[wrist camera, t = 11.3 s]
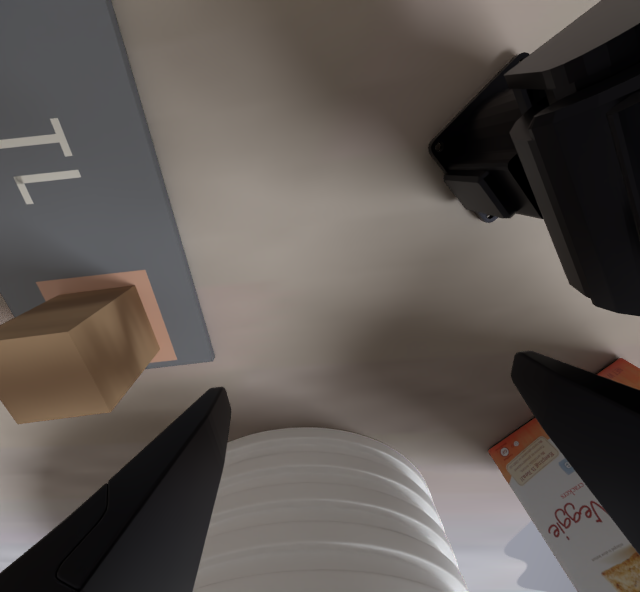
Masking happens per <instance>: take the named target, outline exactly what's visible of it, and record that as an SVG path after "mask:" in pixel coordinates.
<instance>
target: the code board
mask: <svg viewBox="0 0 640 592" xmlns="http://www.w3.org/2000/svg"><path fill="white" fill-rule="evenodd" d="M132 285H135V286H136V289H137V291H138V294H139V296H140V299H141V301H142V304H143V307H144V309H145V312H146V314H147V317H148V319H149V322H150V324H151V327H152V329H153V332H154V334H155V337H156V339H157V342H158V345H159V347H160V350H159V352H158V353H157V354H156V355H155V357H154V358H153V359H152V360H151V362H150V363H149V364H148V366H147V367H146V368H145V369H151V368H159V367H168V366H177V365H185V364H194V363H203V362H211V361H213V360H214V358H215V355H214V351H213V348H212V345H211V341H210V338H209V334H208V331H207V327H206V324H205V321H204V317H203V314H202V310H201V307H200V303H199V300H198V297H197V293H196V290H195V286H194V283H193V279H192V276H191V273H190V269H189V266H188V262H187V259H186V255H185V252H184V249H183V245H182V242H181V238H180V235H179V231H178V228H177V225H176V221H175V218H174V214H173V211H172V208H171V204H170V201H169V197H168V194H167V190H166V187H165V184H164V180H163V177H162V173H161V170H160V166H159V163H158V160H157V156H156V153H155V149H154V146H153V142H152V139H151V136H150V132H149V129H148V125H147V122H146V118H145V115H144V112H143V108H142V105H141V101H140V98H139V94H138V91H137V88H136V84H135V81H134V77H133V74H132V70H131V67H130V64H129V60H128V57H127V53H126V50H125V46H124V43H123V40H122V36H121V33H120V29H119V26H118V22H117V19H116V16H115V12H114V9H113V5H112V2H111V0H0V293H1V295H2V296H3V298H4V300H5V302H6V303H7V305H8V307H9V308H10V310H11V312H12V314H13V315H14V317H17V316H19V315H21V314H23V313H25V312H27V311H29V310H31V309H32V308H34V307H36V306H38V305H40V304H42V303H44V302H46V301H48V300H50V299H52V298H54V297H56V296H58V295H61V294H69V293H77V292H85V291H93V290H101V289H109V288H117V287H125V286H132Z"/></svg>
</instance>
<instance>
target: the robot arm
mask: <svg viewBox="0 0 640 592" xmlns="http://www.w3.org/2000/svg"><path fill="white" fill-rule="evenodd" d="M519 61H521V62H520V63H518V62H519ZM437 143H440V144H441V149H440V151H438V152H437V151H436V149H435V146H436V144H437ZM428 149H429V153H430V155H431V156H432V157H433V159H434V160H435V161H436V162H437V164H438V165H439V166H440V168H441V169H442V170H443V172H444V173H445V175H444V182H445V183H446V184H447V185H448V187H449V188H450V189H451V191H452V192H453V193H454V194H455V196H456V197H457V198H458V200H459V201H460V202H461V203H462V205H463V206H464V207H465V208H466V209H468V210H472V211H474V212H475V213H476V214H477V216H478V217H479V218H480V220H482V221H484V222H488V223H490V222H493V221H494V220H496V219H497V218H498V217H500V218H511V217H512V216H513V215H514V214H515V213H516V214H521V215H526V216H530V217H535V218H540V219H544V221H545V224H546V226H547V229H548V231H549V234H550V236H551V239H552V242H553V244H554V247H555V249H556V252H557V254H558V257H559V259H560V262H561V264H562V267H563V269H564V272H565V274H566V277H567V279H568V281H569V284H570V285H571V286H573V287H574V288H575V289H577V290H578V291H579V292H581V293H582V294H583V295H585V296H586V297H588V298H591V300H592V303H593V305H595V306H597V307H600V308H603V309H606V310H610V311H613V312H616V313H621V314H628V315H635V316H640V0H601V1H600V2H599V3H597V4H596V5H595V6H593V7H592V8H591V9H589V10H588V11H587V12H585V13H584V14H583V15H581V16H580V17H579V18H578V19H576V20H575V21H574V22H572V23H571V24H570V25H568V26H567V27H566V28H564V29H563V30H562V31H560V32H559V33H558V34H556V35H555V36H554V37H553V38H551V39H550V40H549V41H547V42H546V43H545V44H543V45H542V46H541V47H539V48H538V49H537V50H535V51H534V52H533V53H532V54H530V55H529V53H526V52H524V53H521V54H519V55H517V56H515V57H514V58H513V59H512V60H511V61H510V62H509V63H508V64H507V65H506V66H505V67H504V68H503V69H502V70H501V71H500V72H499V73H498V74H497V75H496V76H495V77H494V78H493V79H492V80H491V81H490V82H489V83H488V84H487V85H486V86H485V87H484V88H483V89H482V90H481V91H480V92H479V93H478V94H477V95H476V96H475V97H474V98H473V99H472V100H471V101H470V102H469V103H468V104H467V105H466V106H465V107H464V108H463V109H462V110H461V111H460V112H459V113H458V114H457V115H456V116H455V117H454V118H453V119H452V121H451V122H450V123H449V124H448V125H447V126H446V127H445V128H444V129H443V130H442V131H441V132H440V133H439V134H438V135H437V136H436V137H435V138H434V139H433V140H432V141H431V142H430V144H429V147H428ZM487 214H488V215H490V216H489V217H488V218H487ZM511 378H512V381H513V383H514V384H515V386H516V387H517V389H518V391H519V392H520V394H521V395H522V397H523V399H524V400H525V402H526V403H527V405H528V407H529V408H530V410H531V411H532V413H533V415H534V416H535V418H536V419H537V421H538V422H539V424H540V425H541V427H542V428H543V430H544V431H545V432H546V434H547V435H548V436H549V438H550V439H551V440H552V441H553V443H554V444H555V445H556V447H557V448H558V449H559V451H560V452H561V453H562V455H563V456H564V457H565V458H566V460H567V461H568V462H569V464H570V465H571V466H572V468H573V469H574V470H575V472H576V473H577V474H578V476H579V477H580V478H581V479H582V481H583V482H584V483H585V485H586V486H587V487H588V489H589V490H590V491H591V493H592V494H593V495H594V496H595V498H596V499H597V500H598V502H599V503H600V504H601V506H602V507H603V508H604V510H605V511H606V512H607V513H608V515H609V516H610V517H611V519H612V520H613V521H614V523H615V524H616V525H617V527H618V528H619V529H620V530H621V532H622V533H623V534H624V536H625V537H626V538H627V540H628V541H629V542H630V544H631V545H632V546H633V547H634V549H635V550H636V551H637V553H638V554H639V555H640V390H638V389H635V388H632V387H630V386H627V385H624V384H621V383H619V382H616V381H613V380H610V379H608V378H605V377H602V376H599V375H597V374H594V373H591V372H588V371H586V370H583V369H580V368H577V367H575V366H572V365H569V364H566V363H564V362H561V361H558V360H555V359H553V358H550V357H547V356H544V355H541V354H539V353H536V352H533V351H523V352H518V353H516V354H515V356H514V361H513V366H512V371H511ZM230 419H231V406H230V403H229V399H228V396H227V392H226V390H225V388H224V387H216V388H210V389H209V390H208V391H207V392H206V393H204V394H203V395H202V396H201V397H200V398H199V399H198V400H197V401H196V402H195V403H193V404H192V405H191V406H190V407H189V408H188V409H187V410H186V411H185V412H184V413H182V414H181V415H180V416H179V417H178V418H177V419H176V420H175V421H174V422H173V423H171V424H170V425H169V426H168V427H167V428H166V429H165V430H164V431H163V432H162V433H160V434H159V435H158V436H157V437H156V438H155V439H154V440H153V441H152V442H151V443H150V444H148V445H147V446H146V447H145V448H144V449H143V450H142V451H141V452H140V453H139V454H137V455H136V456H135V457H134V458H133V459H132V460H131V461H130V462H129V463H128V464H126V465H125V466H124V467H123V468H122V469H121V470H120V471H119V472H118V473H117V474H115V475H114V476H113V477H112V478H111V479H110V480H109V481H108V484H107V483H106V484H104V485H103V486H102V487H101V488H100V489H99V490H98V491H97V492H96V493H94V494H93V495H92V496H91V497H90V498H89V499H88V500H87V501H86V502H84V503H83V504H82V505H81V506H80V507H79V508H78V509H76V510H75V511H74V512H73V513H72V514H71V515H70V516H69V517H67V518H66V519H65V520H64V521H63V522H61V523H60V524H59V525H58V526H57V527H56V528H54V529H53V530H52V531H51V532H50V533H48V534H47V535H46V536H45V537H44V538H42V539H41V540H40V541H39V542H38V543H36V544H35V545H34V546H33V547H31V548H30V549H29V550H28V551H27V552H25V553H24V554H23V555H22V556H20V557H19V558H18V559H17V560H16V561H14V562H13V563H12V564H11V565H9V566H8V567H7V568H6V569H5V570H3V571H2V572H1V573H0V592H193V588H194V584H195V580H196V576H197V572H198V568H199V564H200V560H201V556H202V552H203V548H204V544H205V540H206V536H207V532H208V528H209V524H210V520H211V516H212V512H213V508H214V504H215V500H216V496H217V492H218V488H219V484H220V480H221V476H222V472H223V467H224V462H225V456H226V448H227V441H228V434H229V427H230Z"/></svg>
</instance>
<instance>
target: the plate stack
mask: <svg viewBox="0 0 640 592" xmlns="http://www.w3.org/2000/svg"><path fill="white" fill-rule="evenodd" d="M193 592H469V590H468V588H467V585H466V583H465V580H464V578H463V576H462V574H461V573H460V571H459V569H458V564H457V560H456V557H455V555H454V552H453V550H452V547H451V545H450V542H449V540H448V538H447V536H446V534H445V531H444V527H443V524H442V522H441V519H440V517H439V514H438V512H437V509H436V507H435V505H434V503H433V499H432V497H431V494H430V491H429V489H428V486H427V484H426V482H425V480H424V478H423V476H422V475H421V473H420V472H419V470H418V469H417V468H416V467H415V466H414V465H413V464H412V463H411V462H410V461H409V460H408V459H407V458H406V457H405V456H403V455H402V454H401V453H399V452H398V451H396V450H395V449H393V448H391V447H389V446H388V445H386V444H384V443H381V442H379V441H377V440H374V439H372V438H369V437H366V436H363V435H360V434H356V433H352V432H348V431H342V430H336V429H329V428H315V427H297V428H284V429H275V430H269V431H264V432H259V433H255V434H251V435H248V436H244V437H241V438H238V439H235V440H233V441H230V442H228V443H227V448H226V456H225V462H224V467H223V472H222V476H221V480H220V484H219V488H218V492H217V496H216V500H215V504H214V508H213V512H212V516H211V520H210V524H209V528H208V532H207V536H206V540H205V544H204V548H203V552H202V556H201V560H200V564H199V568H198V572H197V576H196V580H195V584H194V588H193Z"/></svg>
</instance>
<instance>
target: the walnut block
mask: <svg viewBox="0 0 640 592" xmlns="http://www.w3.org/2000/svg"><path fill="white" fill-rule="evenodd" d="M159 350H160V347H159V345H158V342H157V339H156V337H155V334H154V332H153V329H152V327H151V324H150V322H149V319H148V317H147V314H146V312H145V309H144V307H143V304H142V301H141V299H140V296H139V294H138V291H137V289H136V286H135V285H132V286H125V287H117V288H109V289H101V290H93V291H85V292H77V293H69V294H61V295H58V296H56V297H54V298H52V299H50V300H48V301H46V302H44V303H42V304H40V305H38V306H36V307H34V308H32V309H31V310H29V311H27V312H25V313H23V314H21V315H19V316H17V317H15V318H13V319H11V320H9V321H7V322H5V323H4V324H2V325H0V400H1V402H2V403H3V404H4V406H5V407H6V409H7V410H8V411H9V413H10V414H11V416H12V417H13V418H14V420H15V421H16V423H17V424H23V423H31V422H38V421H46V420H54V419H62V418H70V417H77V416H85V415H93V414H101V413H109V412H111V411H112V410H113V409H114V407H115V406H116V405H117V404H118V402H119V401H120V400H121V399H122V397H123V396H124V395H125V393H126V392H127V391H128V390H129V388H130V387H131V386H132V385H133V383H134V382H135V381H136V379H137V378H138V377H139V376H140V374H141V373H142V372H143V371H144V369H145V368H146V367H147V366H148V364H149V363H150V362H151V360H152V359H153V358H154V357H155V355H156V354H157V353H158V352H159Z"/></svg>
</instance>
